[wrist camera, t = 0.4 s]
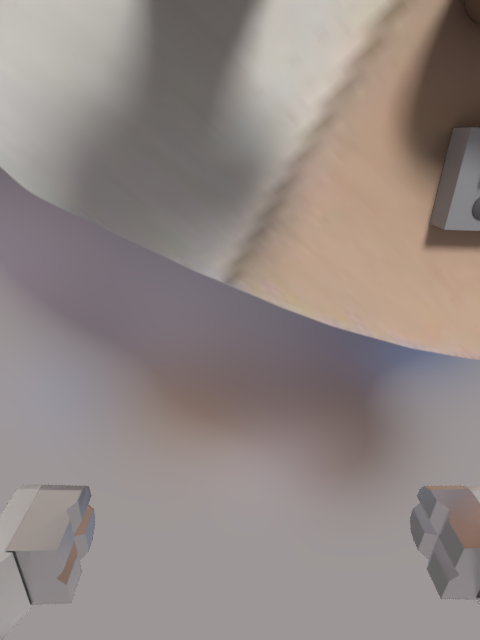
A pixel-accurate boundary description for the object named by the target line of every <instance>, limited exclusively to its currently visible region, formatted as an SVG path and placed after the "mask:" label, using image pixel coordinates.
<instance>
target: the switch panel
mask: <svg viewBox="0 0 480 640" xmlns="http://www.w3.org/2000/svg"><path fill="white" fill-rule="evenodd" d="M430 224H432V225H434V226H436V227H439V228H441V229H443V230H468V231H480V127H464V128H453V131H452V135H451V139H450V143H449V147H448V151H447V155H446V159H445V163H444V167H443V171H442V175H441V179H440V183H439V187H438V192H437V196H436V200H435V204H434V208H433V212H432V216H431V220H430Z"/></svg>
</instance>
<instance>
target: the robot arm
mask: <svg viewBox="0 0 480 640" xmlns="http://www.w3.org/2000/svg"><path fill="white" fill-rule="evenodd" d="M417 497H418V499H419V501H420V504H418V505H417V506H416V507H414V508H413V510H412V514H411V517H410V525H411V533H412V536H413V540H414V542H415V544H416V546H417V549H418V550H419V551H420V552H421V553H422V554H423V555H424V556H426V557H427V558H428V559H429V561H428V566H427V570H428V573H429V575H430V577H431V579H432V581H433V583H434V585H435V587H436V590H437V592H438V594H439V596H440V598H441V599H466V600H478V603H479V604H480V486H423V487H422V488H421V489H420V490H419V493H418V495H417ZM90 498H91V493H90V489H89V486H71V485H68V486H67V485H24V484H23V485H21V486H20V487H19V488H18V489H17V490H16V491H15V493H14V495H13V496H12V498H11V499H10V501H9V503H8V504H7V506H6V508H5V509H4V511H3V513H2V514H1V516H0V640H3V639H4V638H5V636H7V634H8V633H9V632H10V631H11V630H12V629H13V628H14V627H15V625H16V624H17V623H18V622H19V621H20V620H21V619H22V618H23V616H24V615H25V614H26V613H27V612H28V611H29V610H30V609H31V605H39V604H40V605H41V604H65V603H72V600H73V597H74V594H75V590H76V588H77V585H78V582H79V579H80V576H81V573H82V569H81V565H80V560H81V559H82V558H83V557H84V556H85V555H86V554H87V553H88V552H89V549H90V546H91V542H92V539H93V533H94V528H95V514H94V509H93V508H92V507H91V506H90V505H88V504H89V501H90Z"/></svg>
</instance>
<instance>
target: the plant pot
mask: <svg viewBox="0 0 480 640" xmlns="http://www.w3.org/2000/svg"><path fill="white" fill-rule="evenodd" d="M464 6H465V9H466V12H467V14H468V15H469V17H470V18H471V19H472V20H473V21H474V22H475V23H477V24H479V25H480V0H464Z"/></svg>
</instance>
